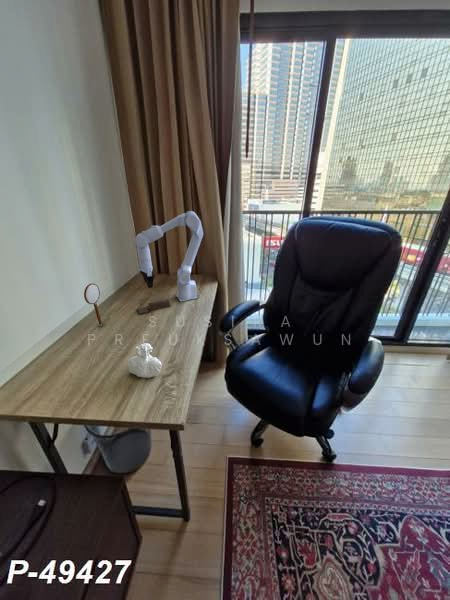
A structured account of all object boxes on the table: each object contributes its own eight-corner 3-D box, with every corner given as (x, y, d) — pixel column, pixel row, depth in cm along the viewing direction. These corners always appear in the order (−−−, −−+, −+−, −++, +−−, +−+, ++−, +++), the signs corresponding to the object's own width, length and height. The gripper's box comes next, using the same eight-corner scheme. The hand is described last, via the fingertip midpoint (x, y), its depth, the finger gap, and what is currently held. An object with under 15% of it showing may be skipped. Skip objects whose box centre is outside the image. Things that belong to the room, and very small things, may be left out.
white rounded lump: (164, 377, 85) (168, 344, 87) (156, 380, 78) (160, 344, 80) (131, 374, 87) (136, 341, 89) (120, 376, 80) (125, 341, 82)
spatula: (168, 303, 129) (167, 297, 127) (170, 307, 125) (170, 301, 123) (138, 309, 123) (137, 304, 122) (139, 314, 119) (138, 308, 118)
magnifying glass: (96, 331, 107) (84, 288, 97) (93, 331, 107) (80, 288, 98) (108, 320, 114) (98, 280, 105) (105, 320, 115) (94, 280, 105)
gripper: (133, 256, 125) (138, 281, 132) (138, 264, 114) (143, 291, 120) (148, 254, 128) (151, 278, 134) (154, 262, 116) (158, 288, 123)
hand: (148, 284), depth 127 cm, fingers open, 7 cm apart
